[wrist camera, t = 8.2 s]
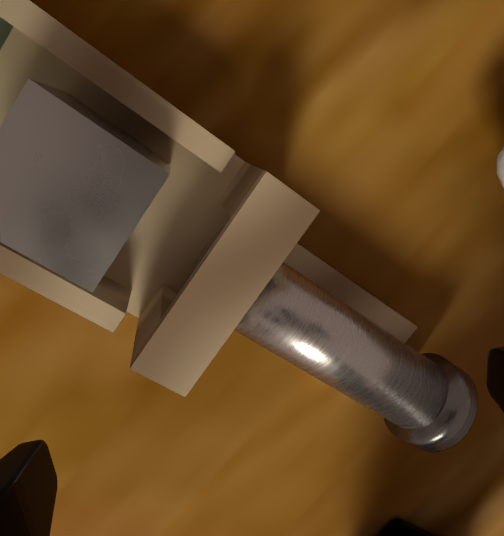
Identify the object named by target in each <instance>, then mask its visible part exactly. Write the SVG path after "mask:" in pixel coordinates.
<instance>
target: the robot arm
mask: <svg viewBox="0 0 504 536" xmlns="http://www.w3.org/2000/svg"><path fill="white" fill-rule="evenodd" d="M487 388H488V391H489V393H490V395H491V397H492V398H493V399H494V401H495V402H496V403H497V405H498V406H499V407H500V409H501V410H502V411H503V412H504V346H503V347H498V348H494V349H491V350H490V351H489V353H488V358H487ZM56 493H57V475H56V472H55V468H54V465H53V462H52V459H51V456H50V452H49V449H48V446H47V444H46V443H45V441H43V440H35V441H30V442H25V443H22V444H19V445H18V446H17V447H15V448H14V449H13V450H11V451H10V452H9V453H8V454H6V455H5V456H4V457H3V458H1V459H0V536H50V529H51V523H52V517H53V511H54V505H55V499H56ZM379 536H435V535H433V534H431V533H429V532H427V531H425V530H422V529H420V528H418V527H416V526H414V525H412V524H410V523H408V522H406V521H404V520H402V519H394V520H392V521H391V522H390V523H389V524H388V525H387V526H386V527H385V529H384V530H383V531H382V532H381V533H380V534H379Z"/></svg>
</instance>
